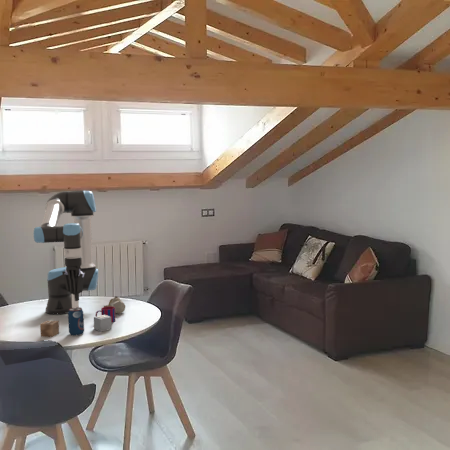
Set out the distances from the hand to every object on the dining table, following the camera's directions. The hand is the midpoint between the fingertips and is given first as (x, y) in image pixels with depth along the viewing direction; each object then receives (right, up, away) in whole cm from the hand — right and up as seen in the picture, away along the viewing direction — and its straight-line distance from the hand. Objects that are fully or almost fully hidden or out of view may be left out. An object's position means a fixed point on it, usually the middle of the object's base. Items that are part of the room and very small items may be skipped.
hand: (75, 307), depth 263 cm
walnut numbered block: (-12, -13, +1) cm, 18 cm away
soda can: (0, -13, +1) cm, 13 cm away
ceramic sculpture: (+11, -9, +41) cm, 44 cm away
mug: (+9, -11, +21) cm, 25 cm away
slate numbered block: (+11, -12, +9) cm, 18 cm away
